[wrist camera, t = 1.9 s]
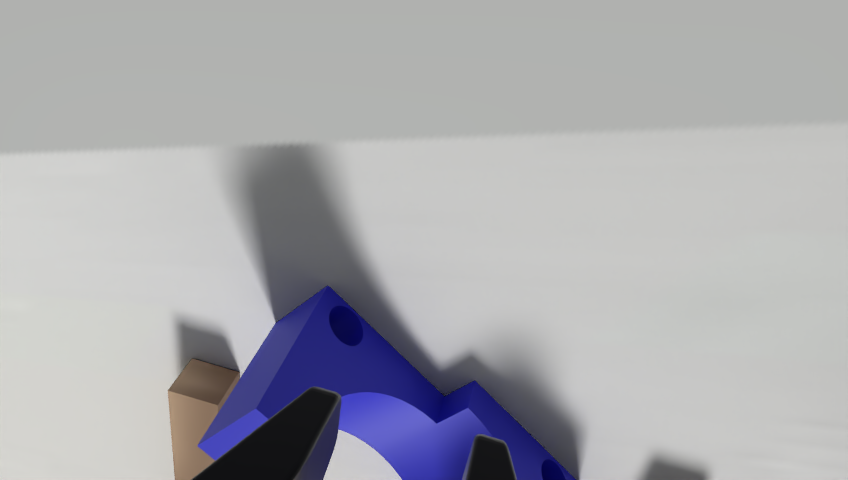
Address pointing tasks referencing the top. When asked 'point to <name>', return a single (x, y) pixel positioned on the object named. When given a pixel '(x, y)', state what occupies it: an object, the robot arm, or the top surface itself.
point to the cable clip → (371, 398)
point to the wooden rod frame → (196, 412)
